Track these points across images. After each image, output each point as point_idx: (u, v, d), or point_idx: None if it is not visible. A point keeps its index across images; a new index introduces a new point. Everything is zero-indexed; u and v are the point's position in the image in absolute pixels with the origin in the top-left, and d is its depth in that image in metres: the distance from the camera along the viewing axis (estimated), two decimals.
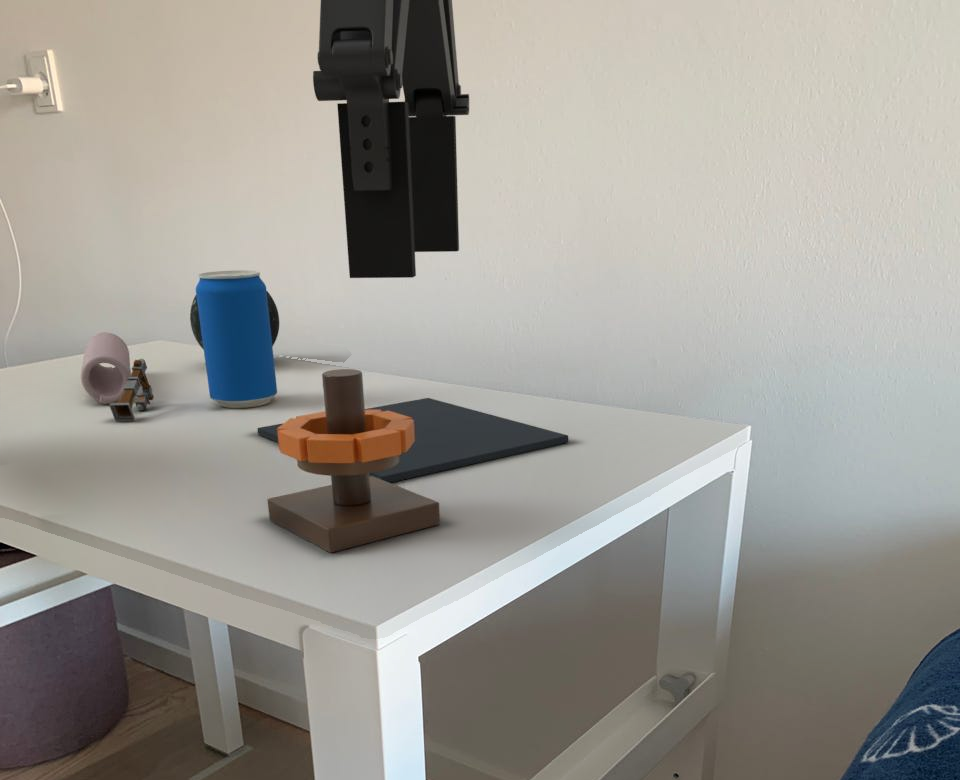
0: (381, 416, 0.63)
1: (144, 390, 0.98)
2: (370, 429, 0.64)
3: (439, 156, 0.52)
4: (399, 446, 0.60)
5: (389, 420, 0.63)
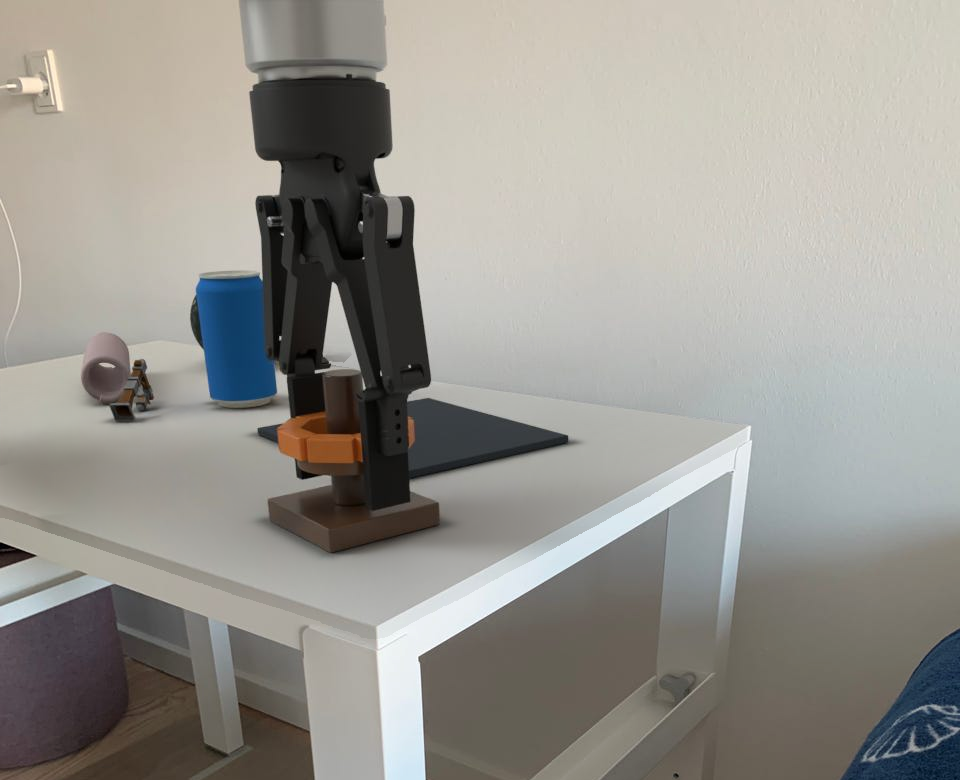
0: None
1: (144, 390, 0.98)
2: None
3: (321, 404, 0.65)
4: None
5: None
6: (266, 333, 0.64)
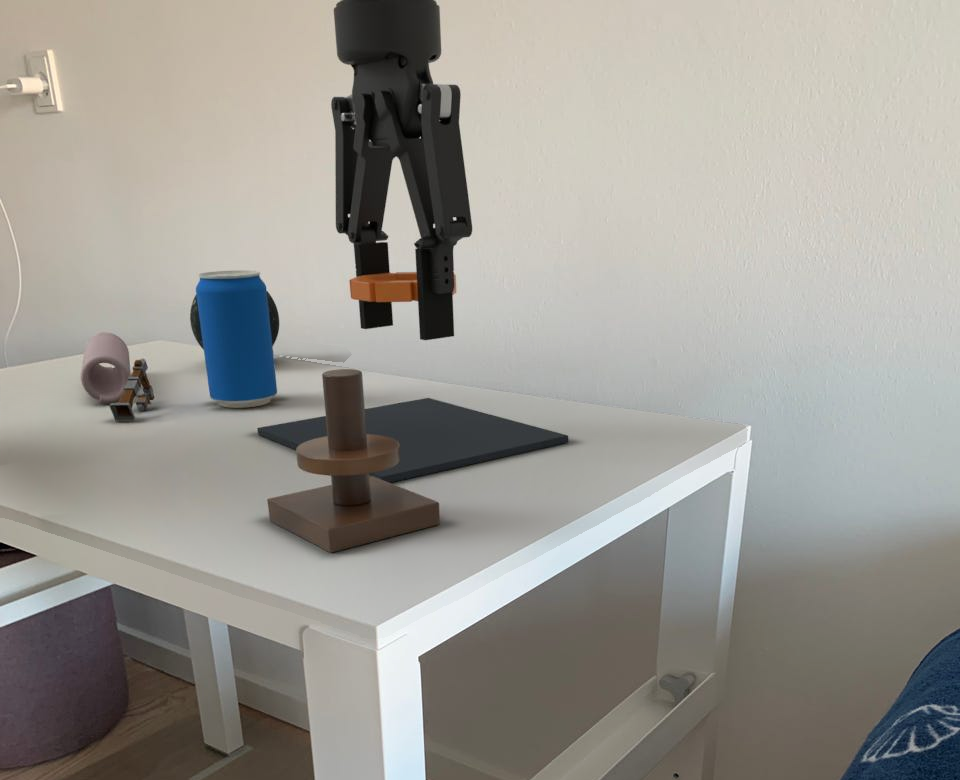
0: None
1: (145, 390, 0.98)
2: None
3: (380, 267, 0.82)
4: None
5: None
6: (337, 210, 0.81)
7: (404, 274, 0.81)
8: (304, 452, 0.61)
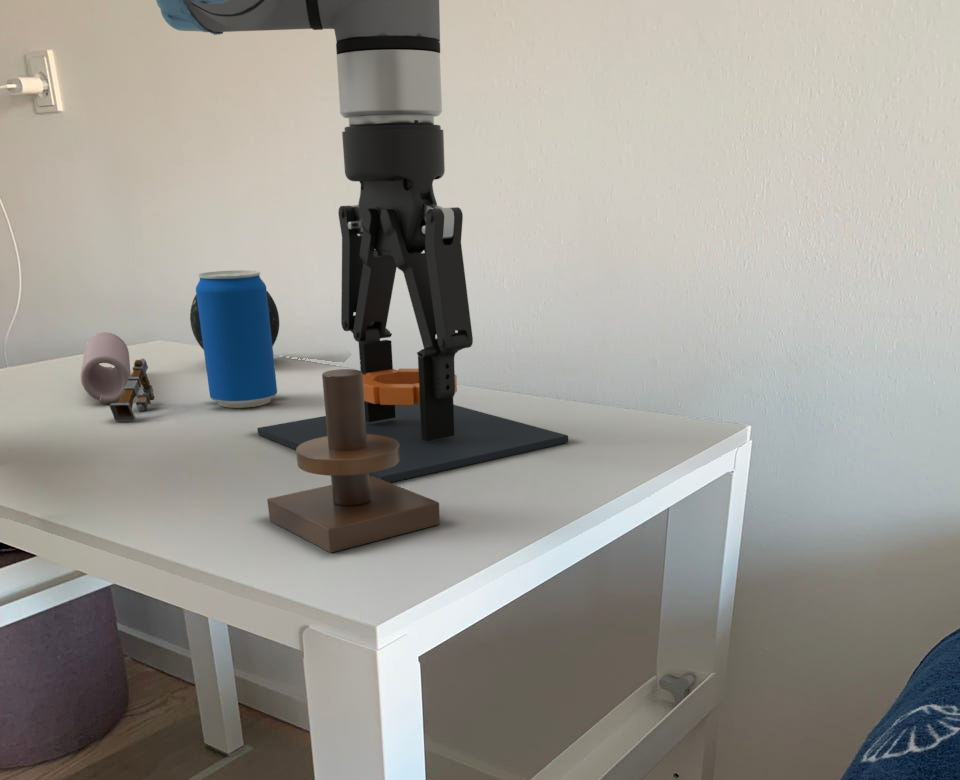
0: None
1: (145, 390, 0.97)
2: None
3: (384, 364, 0.85)
4: None
5: None
6: (343, 309, 0.84)
7: (407, 372, 0.84)
8: (304, 452, 0.61)
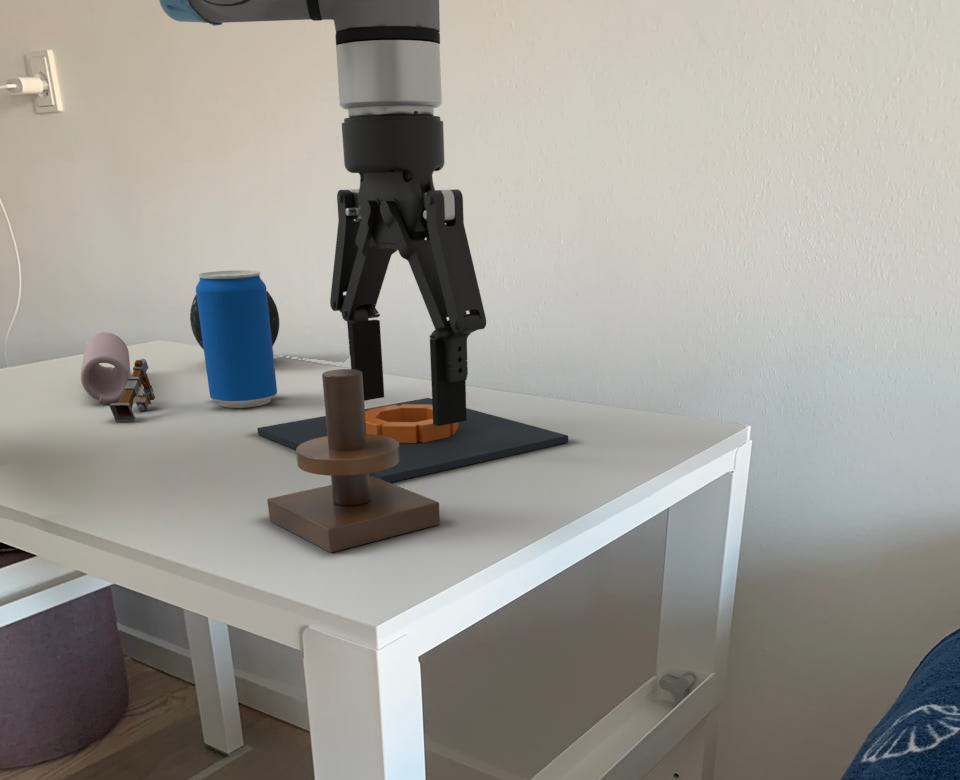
0: None
1: (145, 390, 0.97)
2: (424, 419, 0.86)
3: (373, 344, 0.85)
4: (448, 431, 0.81)
5: None
6: (333, 290, 0.85)
7: (409, 408, 0.86)
8: (304, 452, 0.61)
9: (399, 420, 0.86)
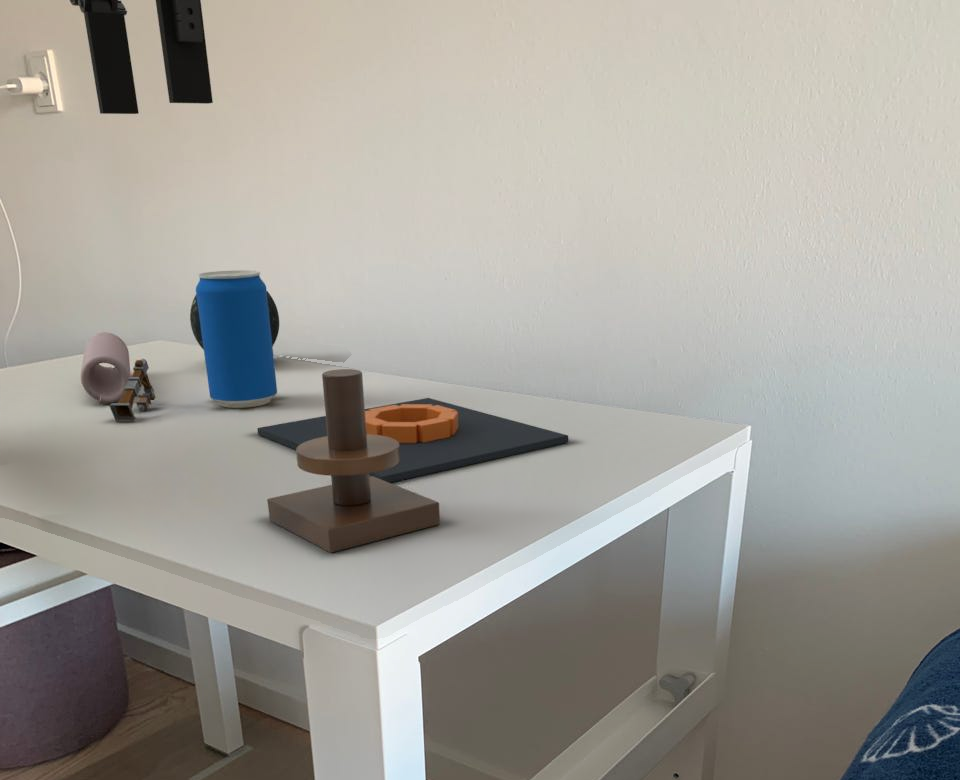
0: (433, 409, 0.85)
1: (146, 390, 0.97)
2: (424, 419, 0.86)
3: (117, 42, 0.74)
4: (448, 431, 0.81)
5: (439, 412, 0.84)
6: None
7: (409, 408, 0.86)
8: (304, 452, 0.61)
9: (399, 420, 0.86)
